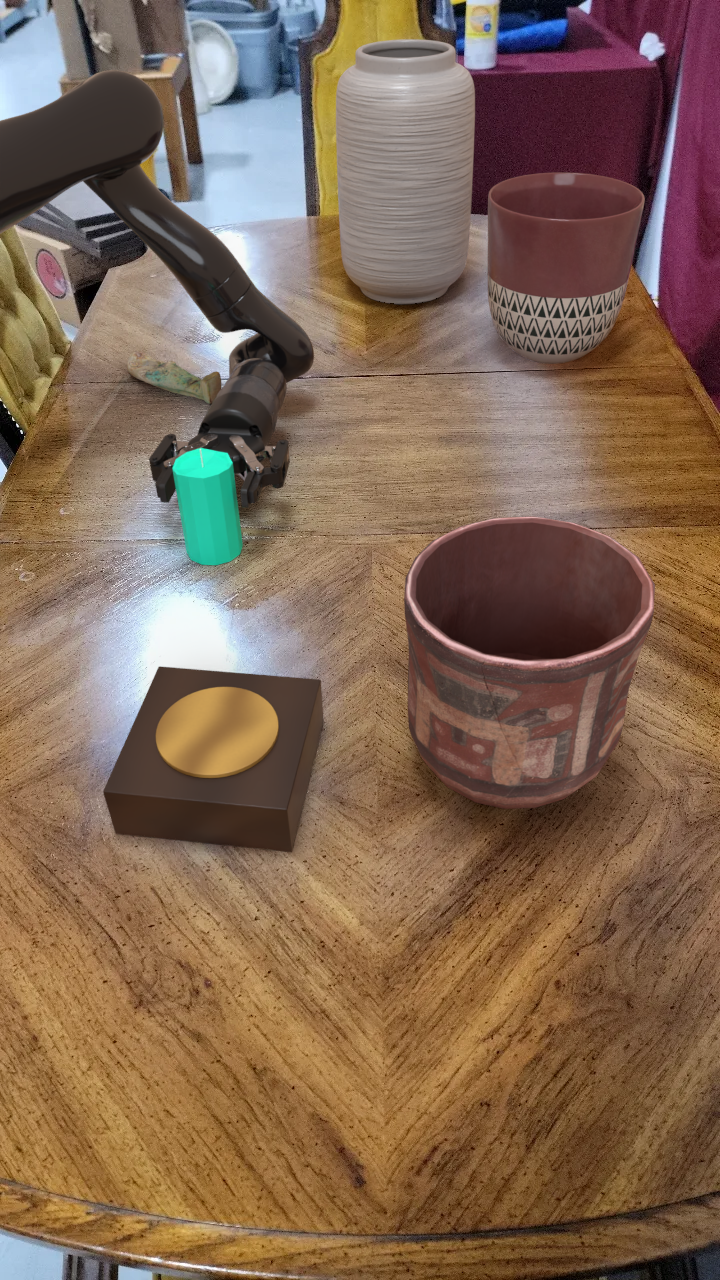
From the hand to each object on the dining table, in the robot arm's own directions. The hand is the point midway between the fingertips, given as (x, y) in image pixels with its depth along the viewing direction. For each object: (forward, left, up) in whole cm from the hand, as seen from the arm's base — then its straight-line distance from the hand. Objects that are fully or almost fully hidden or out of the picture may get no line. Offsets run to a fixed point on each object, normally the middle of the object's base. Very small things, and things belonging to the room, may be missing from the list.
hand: (203, 497), depth 100 cm
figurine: (-15, +37, -7) cm, 41 cm away
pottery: (+32, -25, -7) cm, 41 cm away
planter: (+35, +52, -7) cm, 63 cm away
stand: (+9, -30, -7) cm, 32 cm away
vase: (+12, +75, -7) cm, 76 cm away
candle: (0, +1, -7) cm, 7 cm away
